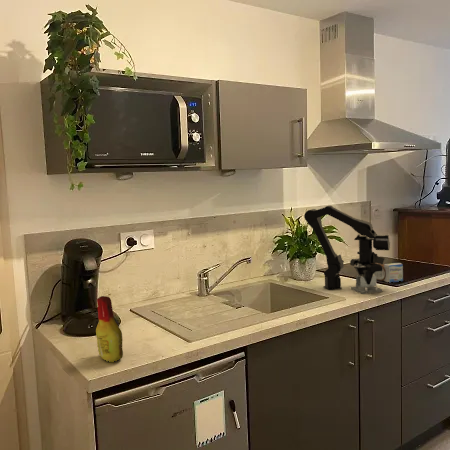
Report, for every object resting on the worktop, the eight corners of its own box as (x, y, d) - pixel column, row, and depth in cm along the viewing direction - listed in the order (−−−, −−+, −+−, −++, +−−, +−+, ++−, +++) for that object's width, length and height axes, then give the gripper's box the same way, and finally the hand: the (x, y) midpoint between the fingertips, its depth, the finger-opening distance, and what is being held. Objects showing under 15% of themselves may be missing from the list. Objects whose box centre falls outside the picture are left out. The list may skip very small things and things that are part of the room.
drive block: (360, 287, 211) (360, 276, 211) (356, 285, 215) (355, 274, 214) (376, 285, 213) (376, 274, 212) (371, 283, 217) (371, 273, 216)
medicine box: (389, 283, 225) (388, 265, 225) (383, 281, 230) (383, 263, 229) (403, 281, 228) (403, 263, 227) (397, 279, 232) (397, 262, 231)
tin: (390, 281, 229) (389, 264, 228) (385, 282, 227) (385, 265, 227) (367, 276, 242) (366, 260, 241) (362, 277, 241) (362, 261, 240)
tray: (362, 293, 208) (362, 288, 208) (351, 289, 218) (351, 283, 218) (382, 291, 210) (382, 286, 210) (370, 286, 220) (370, 281, 220)
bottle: (92, 356, 149) (87, 295, 147) (111, 351, 153) (106, 291, 151) (108, 367, 139) (103, 301, 137) (128, 361, 143) (123, 297, 141)
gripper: (393, 251, 205) (393, 286, 207) (370, 245, 223) (371, 277, 225) (370, 253, 202) (370, 288, 204) (349, 247, 221) (350, 279, 222)
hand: (366, 283), depth 214 cm, fingers closed on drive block, 4 cm apart
